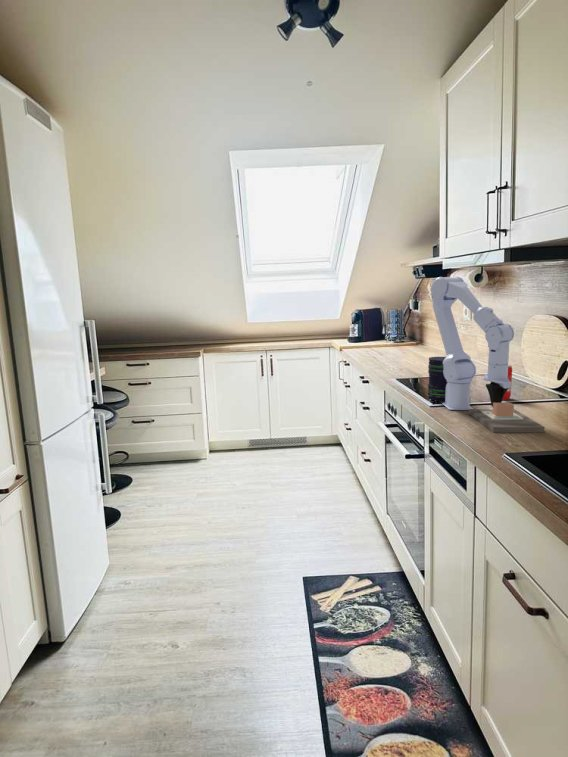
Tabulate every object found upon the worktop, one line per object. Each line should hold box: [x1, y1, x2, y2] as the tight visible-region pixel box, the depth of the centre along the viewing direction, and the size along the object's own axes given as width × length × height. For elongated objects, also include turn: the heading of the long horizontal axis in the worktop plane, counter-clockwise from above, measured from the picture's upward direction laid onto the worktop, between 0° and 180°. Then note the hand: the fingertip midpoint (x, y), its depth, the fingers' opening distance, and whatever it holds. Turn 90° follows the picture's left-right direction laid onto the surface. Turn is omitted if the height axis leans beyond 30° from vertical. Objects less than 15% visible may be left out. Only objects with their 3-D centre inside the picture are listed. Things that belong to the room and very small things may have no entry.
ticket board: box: [468, 407, 545, 433], centre depth 154 cm, size 22×14×2 cm, turn 178°
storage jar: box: [427, 356, 457, 403], centre depth 186 cm, size 10×10×15 cm
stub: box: [485, 402, 523, 420], centre depth 154 cm, size 6×9×4 cm, turn 88°
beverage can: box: [502, 364, 513, 401], centre depth 186 cm, size 5×5×12 cm
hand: (495, 406), depth 161 cm, fingers closed
